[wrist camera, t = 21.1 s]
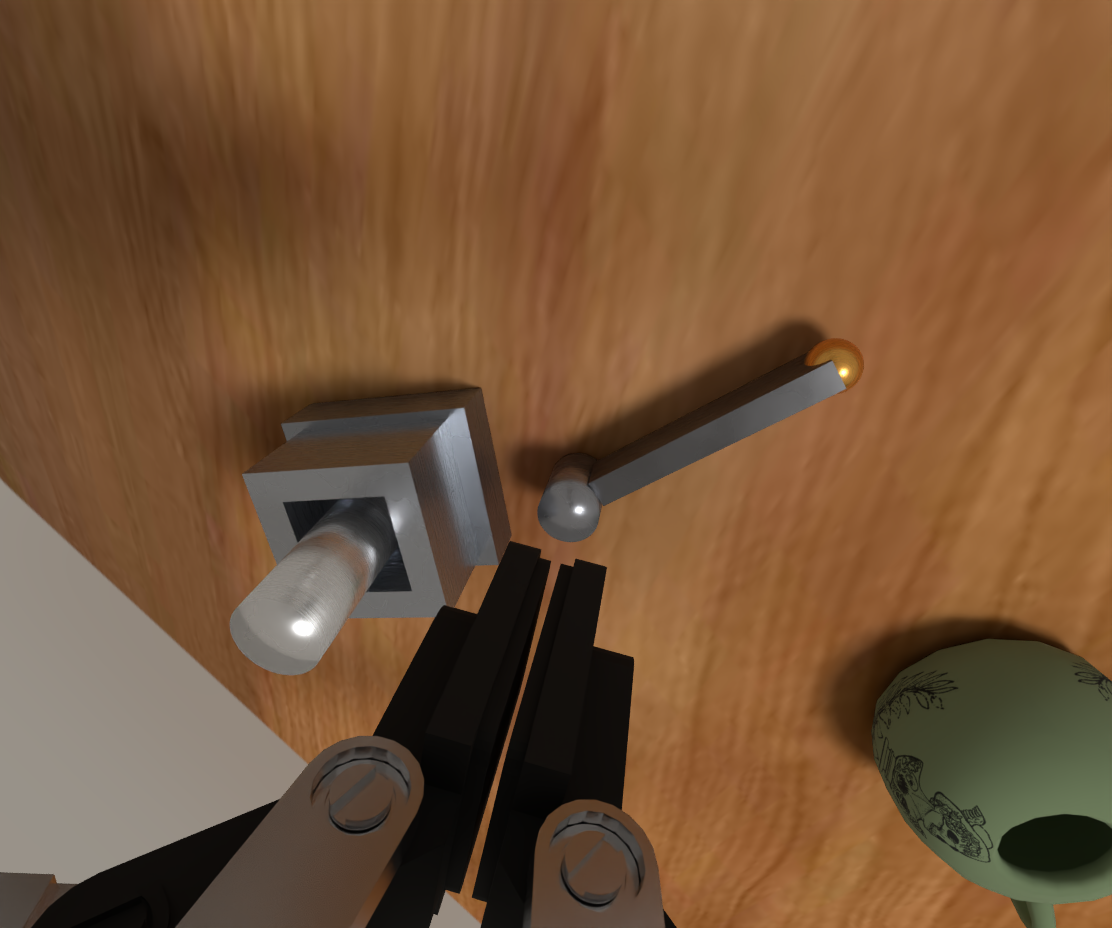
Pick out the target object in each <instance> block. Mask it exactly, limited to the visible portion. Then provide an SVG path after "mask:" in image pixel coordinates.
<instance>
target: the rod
mask: <svg viewBox="0 0 1112 928" xmlns="http://www.w3.org/2000/svg"><path fill="white" fill-rule="evenodd" d="M398 545H399V544H398V541H397V537H396V534H395V531H394V527H393V524H392V520H391V517H390V513H389V510H388V507H387V503H386V500H385V496H381V497H363V498H345V499H339V500H338V501H337V502H336V503H335V504H334V505H333V506H332V507H331V508H330V509H329V510H328V511H327V513H326V514H325V515H324V516H323V517H322V518H321V519H320V520H319V521H318V522H317V523H316V524H315V525H314V526H313V527H312V528H311V530H310V531H309V532H308V533H307V534H306V535H305V536H304V537H303V538H302V539H301V540H300V541H299V542H298V543H297V544H296V545H295V546H294V548H293V549H292V550H291V551H290V552H289V553H288V554H287V555H286V556H285V557H284V558H283V559H282V560H281V561H280V562H279V563H278V565H277V566H276V567H275V568H274V569H273V570H272V571H271V572H270V573H269V574H268V575H267V576H266V577H265V578H264V579H263V580H262V582H261V583H260V584H259V585H258V586H257V587H256V588H255V589H254V590H253V591H252V592H251V593H250V594H249V595H248V596H247V597H246V598H245V600H244V601H243V602H242V603H241V604H240V605H239V606H238V607H237V608H236V609H235V610H234V612H233V614H232V616H231V619H230V630H231V634H232V637H233V639H234V641H235V643H236V645H237V646H238V648H239V649H240V650H241V652H242V653H243V654H244V655H245V656H246V657H247V658H249V659H250V660H251V661H252V662H254V663H255V664H257V665H258V666H260V667H262V668H264V669H266V670H269V671H271V672H274V673H278V674H283V675H299V674H303V673H306V672H308V671H310V670H311V669H313V668H314V667H315V666H316V665H317V663H318V662H319V660H320V659H321V657H322V656H323V654H324V653H325V652H326V650H327V649H328V647H329V646H330V644H331V643H332V641H333V640H334V638H335V637H336V635H337V634H338V633H339V631H340V630H341V628H342V627H343V625H344V624H345V622H346V621H347V619H348V618H349V616H350V615H351V613H352V612H353V611H354V609H355V608H356V606H357V605H358V603H359V602H360V600H361V599H362V597H363V596H364V594H365V593H366V591H367V590H368V589H369V587H370V586H371V584H372V583H373V581H374V580H375V578H376V577H377V575H378V574H379V572H380V571H381V570H382V568H383V567H384V565H385V564H386V562H387V561H388V559H389V558H390V556H391V555H392V553H393V552H394V550H395V549H396V548H397V546H398Z"/></svg>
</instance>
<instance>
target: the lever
mask: <svg viewBox="0 0 1112 928" xmlns="http://www.w3.org/2000/svg"><path fill="white" fill-rule="evenodd" d="M863 369H864V360H863V356H862V354H861V352H860V350H859V349H858V348H857V347H856V346H855V345H854V344H853V343H851V342H849V341H847V340H844V339H839V338H833V339H827V340H824V341H822V342H820V343H818V344H816V345H815V346H814V347H813V348H812V349H811V350H810V351H809V352H808V353H806V354H804V355H802V356H800V357H798V358H796V359H794V360H792V361H790V362H788V363H786V364H784V365H782V366H780V367H778V368H776V369H775V370H773V371H771V372H769V373H767V374H765V375H763V376H761V377H759V378H757V379H755V380H753V381H751V382H749V383H747V384H745V385H744V386H742V387H740V388H738V389H736V390H734V391H732V392H730V393H728V394H726V395H724V396H722V397H720V398H718V399H716V400H714V401H712V402H711V403H709V404H707V405H705V406H703V407H701V408H699V409H697V410H695V411H693V412H691V413H689V414H687V415H685V416H683V417H681V418H679V419H678V420H676V421H674V422H672V423H670V424H668V425H666V426H664V427H662V428H660V429H658V430H656V431H654V432H652V433H650V434H648V435H647V436H645V437H643V438H641V439H639V440H637V441H635V442H633V443H631V444H629V445H627V446H625V447H623V448H621V449H619V450H617V451H615V452H614V453H612V454H610V455H608V456H606V457H604V458H602V459H600V460H598V461H597V460H596V459H595V458H593V457H591V456H589V455H586V454H581V453H574V454H569V455H566V456H564V457H563V458H561V459H560V460H559V461H558V462H557V463H556V464H555V466H554V468H553V471H552V473H551V476H550V478H549V481H548V483H547V486H546V488H545V491H544V493H543V496H542V498H541V501H540V503H539V506H538V519H539V522H540V524H541V526H542V528H543V529H544V530H545V531H546V532H547V533H548V534H549V535H550V536H552V537H554V538H556V539H558V540H561V541H565V542H577V541H581V540H583V539H585V538H587V537H589V536H590V535H591V534H592V533H593V532H594V531H595V529H596V527H597V525H598V521H599V517H600V512H601V507H602V504H603V506H605V505H607V504H609V503H611V502H613V501H615V500H617V499H619V498H621V497H623V496H625V495H627V494H629V493H632V492H634V491H636V490H638V489H640V488H642V487H644V486H646V485H648V484H650V483H652V482H654V481H656V480H658V479H661V478H663V477H665V476H667V475H669V474H671V473H673V472H675V471H677V470H679V469H681V468H683V467H685V466H687V465H690V464H692V463H694V462H696V461H698V460H700V459H702V458H704V457H706V456H708V455H710V454H712V453H714V452H716V451H719V450H721V449H723V448H725V447H727V446H729V445H731V444H733V443H735V442H737V441H739V440H741V439H743V438H745V437H748V436H750V435H752V434H754V433H756V432H758V431H760V430H762V429H764V428H766V427H768V426H770V425H772V424H774V423H777V422H779V421H781V420H783V419H785V418H787V417H789V416H791V415H793V414H795V413H797V412H799V411H801V410H803V409H806V408H808V407H810V406H812V405H814V404H816V403H818V402H820V401H822V400H824V399H826V398H828V397H830V396H832V395H835V394H839V393H843V392H845V391H847V390H849V389H851V388H852V387H853V386H854V385H855V384H856V383H857V382H858V381H859V379H860V378H861V376H862V373H863Z"/></svg>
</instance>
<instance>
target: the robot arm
mask: <svg viewBox="0 0 1112 928" xmlns="http://www.w3.org/2000/svg"><path fill="white" fill-rule="evenodd" d="M540 554H541V549H538V548H534V547H531V546H527V545H523V544H519V543H516V542H512V541H510V542H509V544H508V546H507V548H506V550H505V553H504V555H503V557H502V559H501V562H500V564H499V566H498V568H497V571H496V573H495V575H494V578H493V580H492V582H491V584H490V587H489V589H488V591H487V593H486V596H485V598H484V600H483V603H482V605H481V607H480V609H479V612H478V614H475V613H471V612H467V611H464V610H460V609H457V608H453V607H449V606H446V605H443V606H442V607H441V608H440V610H439V611H438V613H437V615H436V617H435V619H434V620H433V622H432V624H431V626H430V628H429V630H428V632H427V634H426V636H425V638H424V639H423V641H422V643H421V645H420V647H419V649H418V651H417V653H416V655H415V656H414V658H413V660H412V662H411V664H410V666H409V668H408V670H407V672H406V673H405V675H404V677H403V679H402V681H401V683H400V685H399V687H398V689H397V690H396V692H395V694H394V696H393V698H392V700H391V702H390V704H389V706H388V707H387V709H386V711H385V713H384V715H383V717H382V719H381V721H380V723H379V724H378V726H377V728H376V730H375V732H374V734H373V736H357V737H353V738H349V739H345V740H341V741H339V742H337V743H336V744H334V745H332V746H330V747H328V748H326V749H324V750H323V751H322V752H321V753H320V754H319V755H318V756H317V757H316V758H314V759H313V760H312V761H311V762H310V763H309V764H308V766H307V767H306V768H305V769H304V770H303V772H302V773H301V774H300V775H299V777H298V778H297V779H296V780H295V781H294V783H293V784H292V785H291V786H290V788H289V789H288V790H287V791H286V793H285V794H284V795H283V796H282V797H281V799H279V800H276V801H274V802H271V803H269V804H266V805H264V806H262V807H259V808H257V809H254V810H252V811H249V812H247V813H245V814H242V815H240V816H237V817H235V818H232V819H230V820H227V821H225V822H223V823H220V824H218V825H215V826H213V827H210V828H208V829H205V830H203V831H200V832H198V833H196V834H193V835H191V836H188V837H186V838H183V839H181V840H178V841H176V842H174V843H171V844H169V845H166V846H164V847H161V848H159V849H157V850H154V851H152V852H149V853H147V854H145V855H142V856H139V857H137V858H135V859H132V860H130V861H127V862H125V863H122V864H120V865H117V866H115V867H113V868H110V869H108V870H105V871H103V872H100V873H98V874H96V875H95V876H92V877H91V878H89V879H87V880H85V881H84V882H81V883H79V884H62V883H57V882H56V879H55V875H53V874H27V873H1V872H0V928H429V926H430V923H431V920H432V917H433V914H436V915H438V912H439V909H440V906H441V903H442V899H443V896H444V893H445V890H449V891H452V892H455V893H458V894H460V891H461V888H462V885H463V882H464V879H465V875H466V872H467V868H468V865H469V862H470V858H471V855H472V852H473V848H474V845H475V841H476V838H477V835H478V831H479V828H480V825H481V821H482V818H483V814H484V811H485V808H486V804H487V801H488V798H489V794H490V791H491V787H492V784H493V781H494V777H495V774H496V770H497V767H498V764H499V760H500V757H501V754H502V750H503V747H504V743H505V740H506V737H507V733H508V730H509V727H510V723H511V720H512V716H513V713H514V710H515V706H516V703H517V700H518V696H519V693H520V689H521V685H522V681H523V678H524V673H525V669H526V665H527V661H528V657H529V652H530V648H531V644H532V640H533V636H534V632H535V627H536V623H537V619H538V615H539V611H540V606H541V602H542V598H543V594H544V590H545V585H546V581H547V577H548V573H549V569H550V564H551V561H549V560H546V559H542V558H540ZM606 569H607V567H605V566H601V565H598V564H594V563H590V562H587V561H583V560H579V559H575V563H574V567H572V566H568V565H564V564H561V565H560V569H559V572H558V576H557V579H556V583H555V586H554V590H553V593H552V597H551V600H550V604H549V607H548V611H547V614H546V617H545V621H544V624H543V628H542V631H541V635H540V638H539V642H538V645H537V649H536V652H535V656H534V659H533V663H532V666H531V670H530V673H529V677H528V680H527V683H526V687H525V690H524V694H523V697H522V701H521V704H520V708H519V711H518V715H517V718H516V722H515V725H514V729H513V732H512V736H511V739H510V743H509V747H508V750H507V754H506V758H505V762H504V766H503V770H502V774H501V778H500V782H499V786H498V790H497V795H496V799H495V803H494V807H493V811H492V815H491V820H490V824H489V828H488V832H487V836H486V840H485V845H484V849H483V853H482V857H481V861H480V865H479V870H478V874H477V878H476V882H475V886H474V891H473V895H472V898H475V899H478V900H481V901H484V902H487V905H486V908H485V912H484V916H483V920H482V924H481V928H676V926H675V925H674V923H673V922H672V921H671V919H670V918H669V916H668V915H667V914H666V912H665V911H664V909H663V905H662V896H661V888H660V879H659V870H658V865H657V861H656V857H655V853H654V849H653V846H652V845H651V843H650V841H649V839H648V838H647V836H646V834H645V832H644V831H643V829H642V828H641V827H640V826H639V825H638V824H637V823H636V822H635V821H634V820H633V819H632V818H631V817H630V816H629V815H628V814H626V813H625V812H623V811H622V800H623V788H624V777H625V765H626V753H627V742H628V730H629V718H630V707H631V695H632V683H633V672H634V659H633V657H630V656H626V655H623V654H619V653H616V652H612V651H608V650H605V649H601V648H598V647H594V646H593V645H594V639H595V634H596V628H597V622H598V616H599V610H600V605H601V599H602V593H603V587H604V581H605V576H606Z"/></svg>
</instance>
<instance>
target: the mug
mask: <svg viewBox="0 0 1112 928" xmlns="http://www.w3.org/2000/svg"><path fill="white" fill-rule="evenodd" d="M871 732H872V743H873V753H874V760H875V762H876V764H877V767H878V769H879V772H880V774H881V776H882V779H883V781H884V783H885V786H886V788H887V790H888V792H889V794H890V795H891V797H892V799H893V801H894V803H895V804H896V806H897V808H898V810H899V811H900V813H901V815H902V817H903V819H904V820H905V822H906V823H907V824H908V825H909V826H910V828H911V829H912V830H913V831H914V832H915V834H916V835H917V836H918V837H919V838H920V839H921V841H922V842H923V843H924V844H926V845H927V846H928V847H929V848H930V849H931V850H932V851H933V852H934V853H935V854H936V855H937V856H939V857H940V858H941V859H942V860H943V861H944V862H946V863H947V864H948V865H949V866H950V867H952V868H953V869H954V870H955V871H956V872H958V873H959V874H960V875H961V876H962V877H964V878H965V879H967V880H969V881H971V882H973V883H975V884H977V885H979V886H981V887H983V888H986V889H988V890H991V891H994V892H996V893H999V894H1002V895H1004V896H1007V897H1010V898H1011V900H1012V902H1013V904H1014V906H1015V908H1016V910H1017V913H1018V915H1019V917H1020V919H1021V920H1022V922H1023V923H1024V924H1025V926H1026V927H1027V928H1056V920H1055V914H1054V908H1053V904H1064V903H1074V902H1084V901H1094V900H1097V899H1100V898H1103V897H1106V896H1108V895H1111V894H1112V681H1111V680H1109V679H1108V678H1107V677H1106V676H1104V675H1103V674H1102V673H1101V672H1100V671H1098V670H1097V669H1096V668H1095V667H1093V666H1092V665H1091V664H1090V663H1088V662H1087V661H1086V660H1085V659H1084V658H1082V657H1080V656H1077V655H1074V654H1071V653H1069V652H1066V651H1063V650H1061V649H1058V648H1055V647H1052V646H1050V645H1047V644H1044V643H1042V642H1039V641H1021V640H1001V639H985V640H980V641H976V642H972V643H967V644H963V645H959V646H954V647H950V648H946V649H941V650H938V651H936V652H935V653H933V654H931V655H929V656H927V657H926V658H924V659H922V660H920V661H919V662H917V663H915V664H913V665H912V666H910V667H908V668H906V669H905V670H903V671H901V672H900V673H899V674H898V675H897V676H896V678H895V679H894V680H893V681H892V683H891V684H890V685H889V686H888V688H887V689H886V690H885V691H884V693H883V694H882V695H881V696H880V698H879V699H878V700H877V703H876V709H875V714H874V720H873V725H872V730H871Z"/></svg>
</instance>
